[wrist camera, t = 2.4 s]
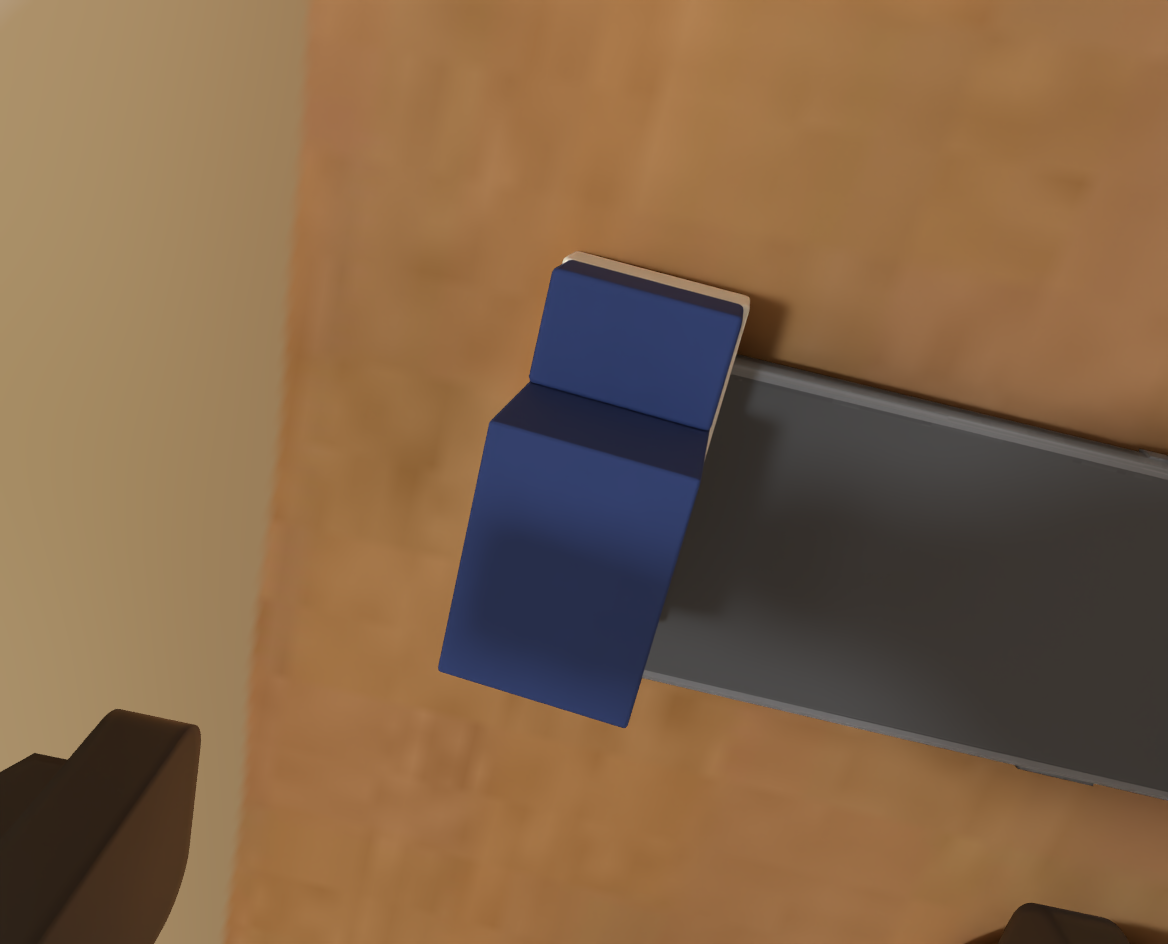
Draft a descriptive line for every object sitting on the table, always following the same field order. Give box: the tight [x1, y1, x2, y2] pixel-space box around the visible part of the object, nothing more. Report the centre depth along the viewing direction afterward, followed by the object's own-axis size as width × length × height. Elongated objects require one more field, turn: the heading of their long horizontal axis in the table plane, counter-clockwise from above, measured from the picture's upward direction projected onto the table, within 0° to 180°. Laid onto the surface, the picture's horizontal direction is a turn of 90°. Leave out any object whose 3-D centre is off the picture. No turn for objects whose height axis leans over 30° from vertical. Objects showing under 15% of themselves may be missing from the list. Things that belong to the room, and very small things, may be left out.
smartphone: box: [642, 354, 1168, 801], centre depth 19 cm, size 7×1×15 cm
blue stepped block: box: [438, 251, 750, 728], centre depth 17 cm, size 7×3×5 cm, turn 167°
